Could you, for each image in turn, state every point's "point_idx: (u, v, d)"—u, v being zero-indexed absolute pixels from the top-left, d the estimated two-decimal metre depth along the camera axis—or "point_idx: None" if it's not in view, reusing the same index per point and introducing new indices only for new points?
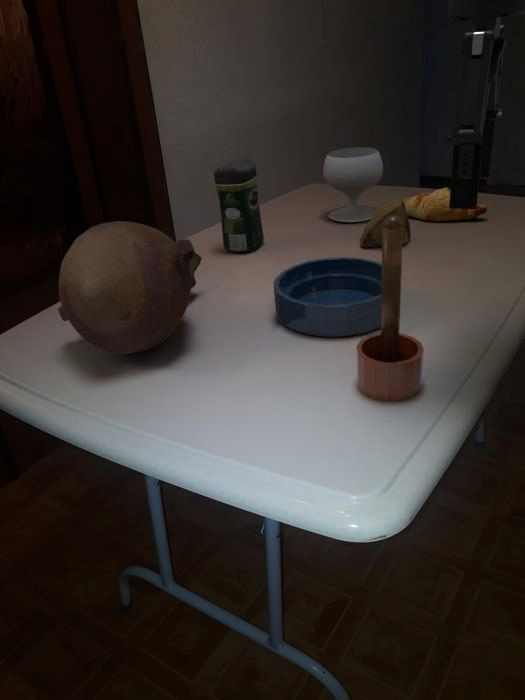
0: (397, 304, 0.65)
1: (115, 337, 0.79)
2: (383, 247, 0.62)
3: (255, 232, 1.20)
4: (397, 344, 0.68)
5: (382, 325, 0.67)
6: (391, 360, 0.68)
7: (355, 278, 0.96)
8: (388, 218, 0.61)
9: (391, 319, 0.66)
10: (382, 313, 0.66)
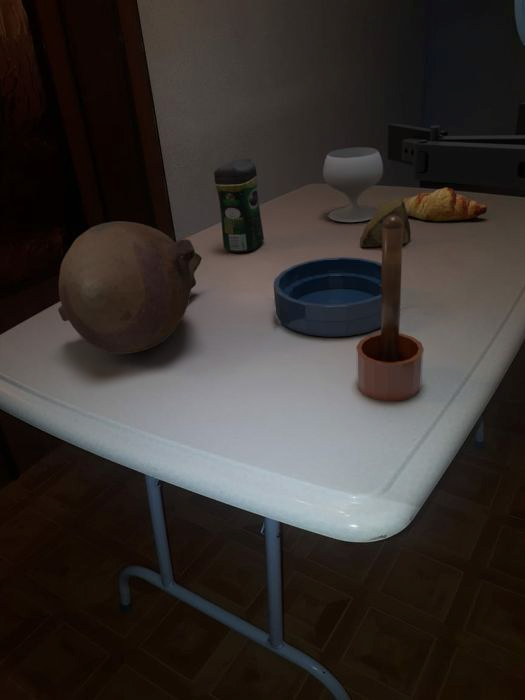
0: (397, 304, 0.65)
1: (115, 337, 0.79)
2: (383, 247, 0.62)
3: (255, 232, 1.20)
4: (397, 344, 0.68)
5: (382, 325, 0.67)
6: (391, 360, 0.68)
7: (355, 278, 0.96)
8: (388, 218, 0.61)
9: (391, 319, 0.66)
10: (382, 313, 0.66)
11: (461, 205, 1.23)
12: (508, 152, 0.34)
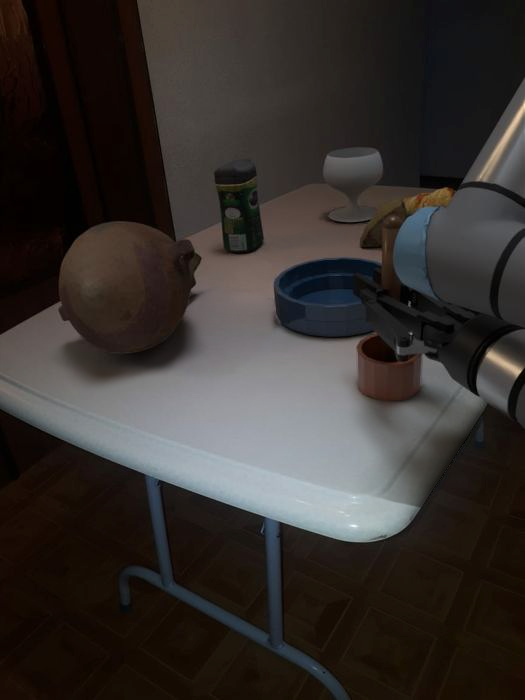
0: None
1: (115, 337, 0.79)
2: (383, 247, 0.62)
3: (255, 232, 1.20)
4: None
5: None
6: (391, 360, 0.68)
7: None
8: (388, 218, 0.61)
9: None
10: None
11: None
12: (391, 328, 0.57)
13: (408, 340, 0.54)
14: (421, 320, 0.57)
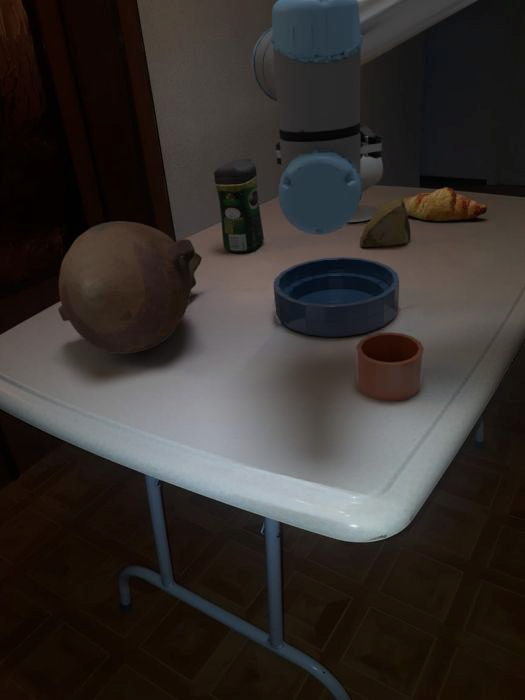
0: None
1: (115, 337, 0.79)
2: None
3: (255, 232, 1.20)
4: None
5: None
6: None
7: (355, 278, 0.96)
8: None
9: None
10: None
11: (462, 205, 1.23)
12: None
13: None
14: None
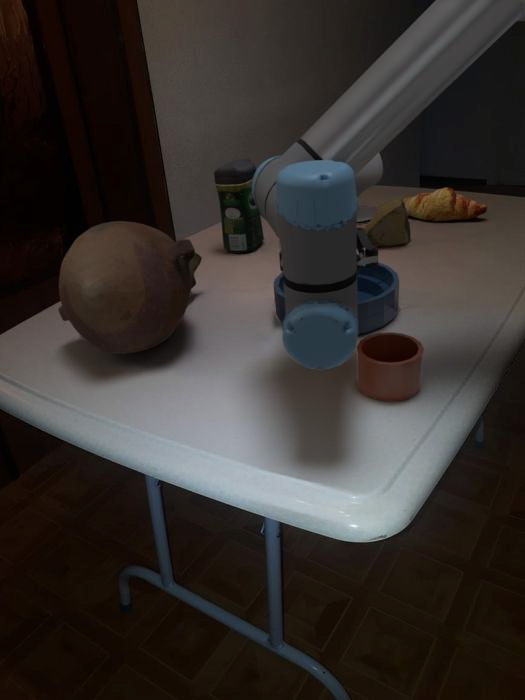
0: None
1: (115, 337, 0.79)
2: None
3: (255, 232, 1.20)
4: None
5: None
6: None
7: None
8: None
9: None
10: None
11: (461, 205, 1.23)
12: None
13: None
14: None
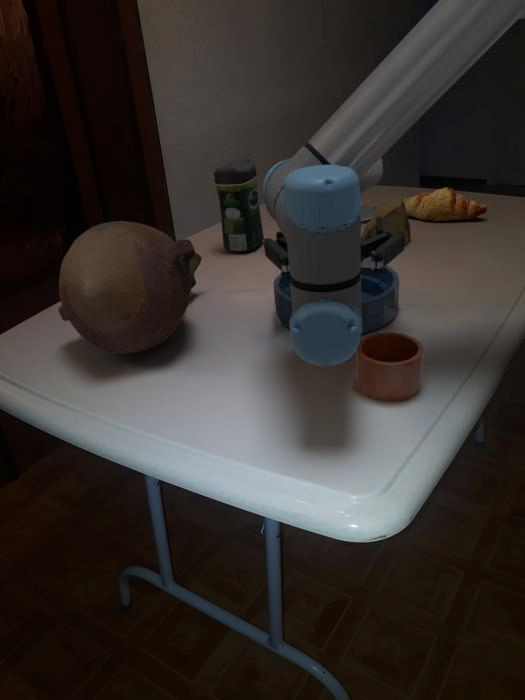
0: None
1: (115, 337, 0.79)
2: None
3: (255, 232, 1.20)
4: None
5: None
6: None
7: None
8: None
9: None
10: None
11: (461, 205, 1.23)
12: (278, 254, 0.77)
13: (287, 260, 0.74)
14: None
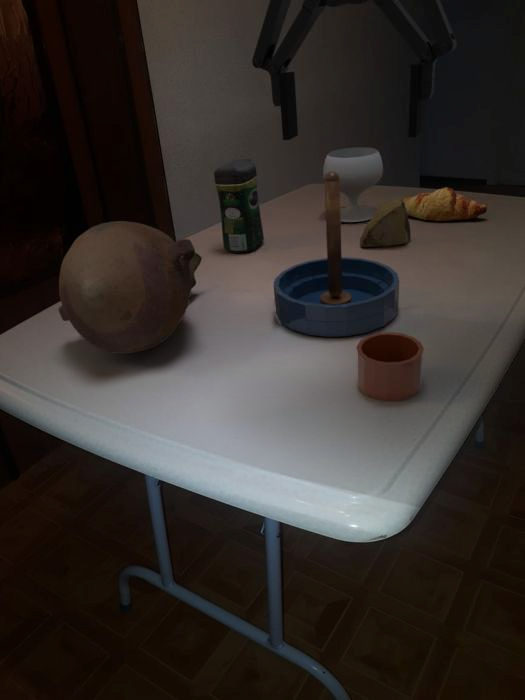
0: (335, 242, 0.85)
1: (115, 337, 0.79)
2: (325, 195, 0.82)
3: (255, 232, 1.20)
4: (337, 276, 0.87)
5: (327, 258, 0.87)
6: (332, 288, 0.88)
7: (355, 278, 0.96)
8: (328, 173, 0.81)
9: (330, 254, 0.86)
10: (327, 248, 0.86)
11: (462, 205, 1.23)
12: None
13: None
14: None
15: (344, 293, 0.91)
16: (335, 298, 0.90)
